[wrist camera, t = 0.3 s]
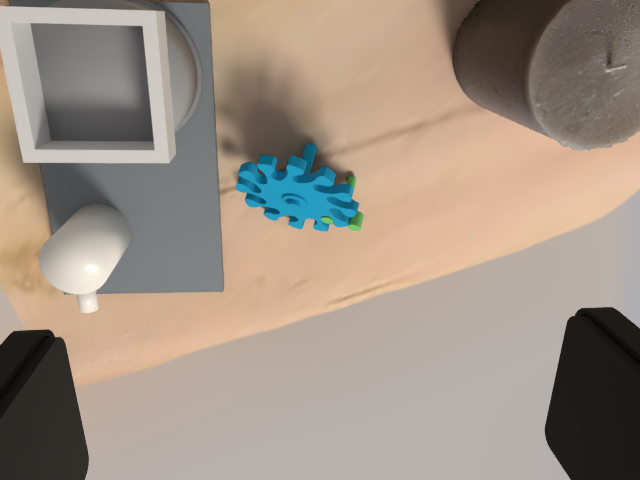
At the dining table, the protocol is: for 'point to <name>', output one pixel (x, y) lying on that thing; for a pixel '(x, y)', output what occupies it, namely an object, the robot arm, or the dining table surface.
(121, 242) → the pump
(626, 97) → the pillar candle
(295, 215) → the gear
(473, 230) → the dining table surface
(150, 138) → the motor stand
